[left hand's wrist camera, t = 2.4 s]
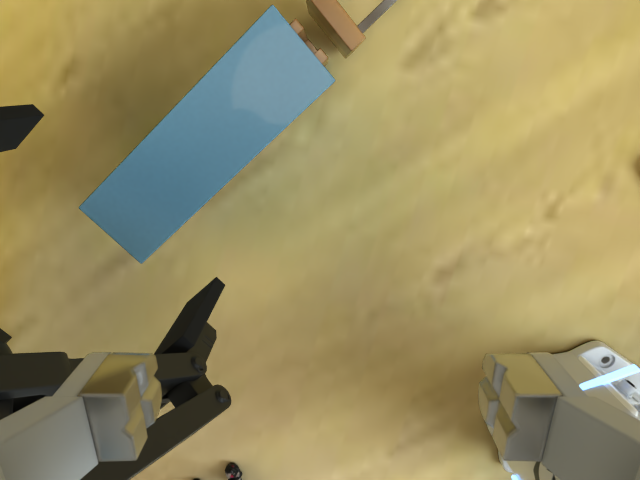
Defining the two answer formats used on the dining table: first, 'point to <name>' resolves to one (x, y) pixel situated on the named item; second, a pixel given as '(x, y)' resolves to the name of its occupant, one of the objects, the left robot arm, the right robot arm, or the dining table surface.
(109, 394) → the left robot arm
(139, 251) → the tall blue open box
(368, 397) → the dining table surface
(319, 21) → the drawer
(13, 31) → the dining table surface
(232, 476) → the figurine
